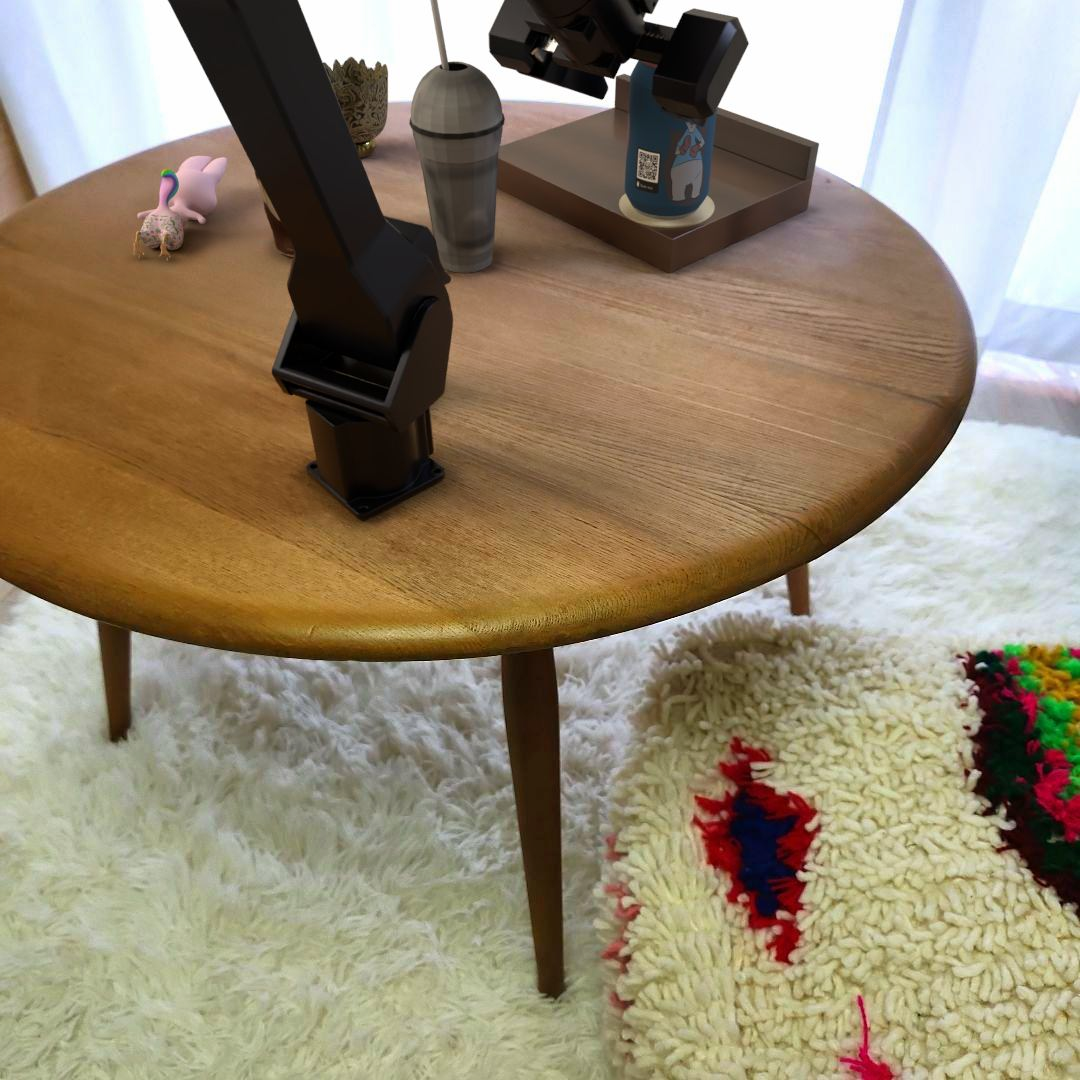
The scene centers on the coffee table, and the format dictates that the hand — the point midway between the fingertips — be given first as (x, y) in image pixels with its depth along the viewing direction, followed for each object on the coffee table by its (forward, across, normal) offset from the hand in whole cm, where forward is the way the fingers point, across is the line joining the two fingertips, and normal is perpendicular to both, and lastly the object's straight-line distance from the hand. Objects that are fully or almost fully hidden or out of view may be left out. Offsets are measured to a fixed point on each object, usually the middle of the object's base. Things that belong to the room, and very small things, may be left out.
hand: (652, 106), depth 78 cm
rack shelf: (+15, +7, +2) cm, 17 cm away
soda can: (+9, 0, +4) cm, 10 cm away
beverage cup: (+2, +11, +16) cm, 19 cm away
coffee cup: (-2, +23, +20) cm, 31 cm away
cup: (+9, +35, +8) cm, 37 cm away
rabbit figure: (-5, +35, +23) cm, 42 cm away
